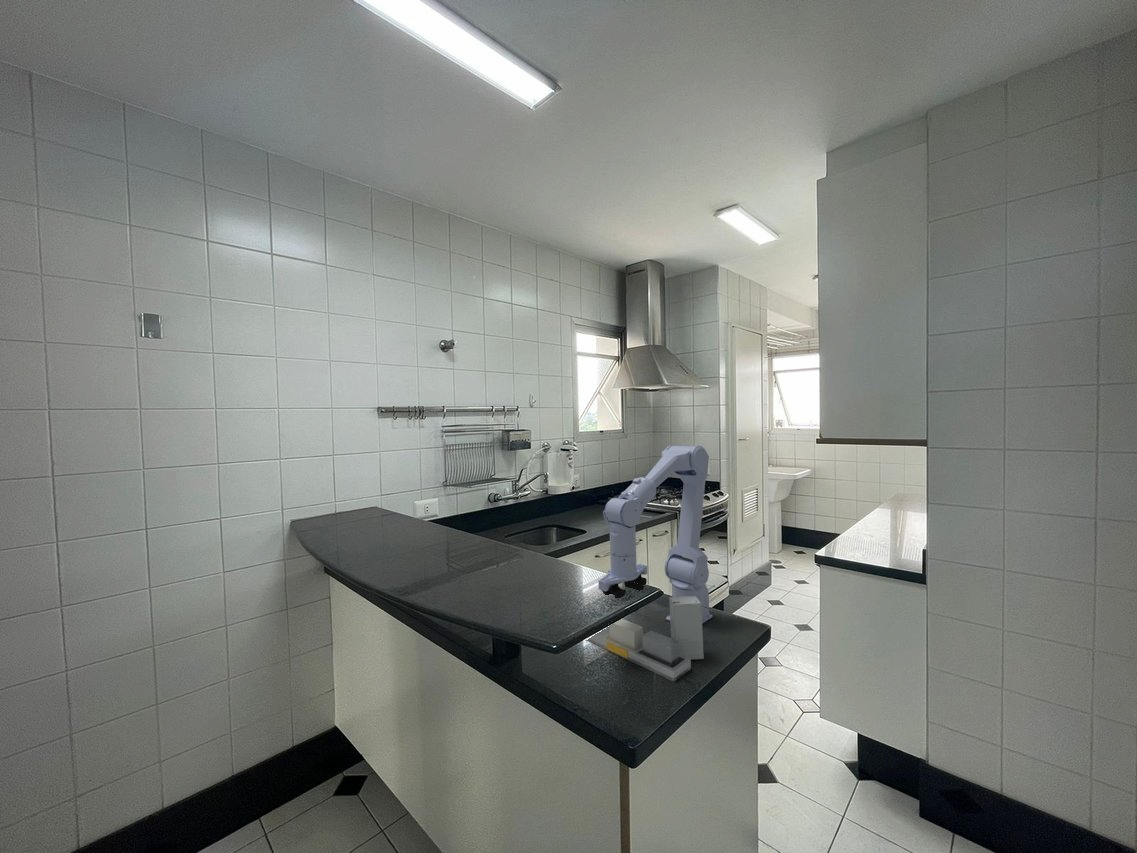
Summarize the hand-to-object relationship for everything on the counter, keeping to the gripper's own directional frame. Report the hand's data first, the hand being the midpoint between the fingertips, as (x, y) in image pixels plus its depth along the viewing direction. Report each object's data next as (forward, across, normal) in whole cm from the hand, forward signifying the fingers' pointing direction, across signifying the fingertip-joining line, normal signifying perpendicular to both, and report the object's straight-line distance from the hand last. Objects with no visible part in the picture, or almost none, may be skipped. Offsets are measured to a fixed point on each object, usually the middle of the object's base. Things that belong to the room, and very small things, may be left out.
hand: (625, 614), depth 97 cm
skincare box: (+8, -7, +11) cm, 15 cm away
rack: (+8, 0, 0) cm, 8 cm away
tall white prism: (+7, 0, 0) cm, 7 cm away
